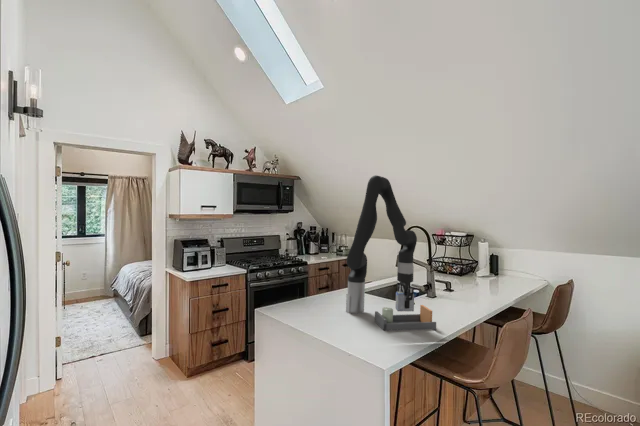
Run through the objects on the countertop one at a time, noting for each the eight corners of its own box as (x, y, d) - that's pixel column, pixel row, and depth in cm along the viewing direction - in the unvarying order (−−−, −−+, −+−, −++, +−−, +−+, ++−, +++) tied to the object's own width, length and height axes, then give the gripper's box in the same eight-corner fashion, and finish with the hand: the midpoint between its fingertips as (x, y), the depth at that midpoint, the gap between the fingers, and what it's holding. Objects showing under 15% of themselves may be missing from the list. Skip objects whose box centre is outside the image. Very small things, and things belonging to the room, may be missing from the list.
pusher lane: (383, 332, 150) (384, 320, 150) (374, 323, 162) (375, 311, 162) (436, 330, 154) (436, 318, 154) (423, 321, 167) (423, 310, 167)
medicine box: (411, 309, 161) (411, 291, 160) (414, 311, 156) (414, 293, 156) (395, 308, 160) (395, 291, 160) (397, 311, 156) (398, 293, 156)
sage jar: (384, 327, 154) (384, 310, 154) (380, 323, 159) (380, 307, 159) (394, 327, 155) (394, 310, 155) (390, 323, 160) (390, 307, 160)
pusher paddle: (429, 327, 155) (430, 310, 155) (419, 320, 165) (420, 304, 165) (431, 327, 156) (432, 310, 155) (422, 320, 165) (422, 304, 165)
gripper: (392, 268, 164) (391, 302, 165) (404, 274, 150) (403, 311, 150) (406, 268, 166) (405, 302, 166) (419, 274, 152) (418, 310, 152)
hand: (404, 306), depth 158 cm, fingers closed on medicine box, 4 cm apart
